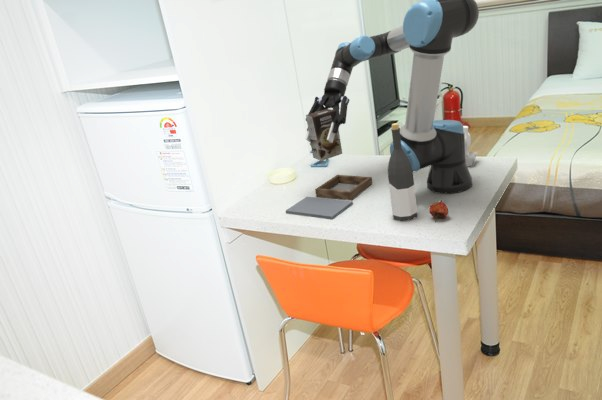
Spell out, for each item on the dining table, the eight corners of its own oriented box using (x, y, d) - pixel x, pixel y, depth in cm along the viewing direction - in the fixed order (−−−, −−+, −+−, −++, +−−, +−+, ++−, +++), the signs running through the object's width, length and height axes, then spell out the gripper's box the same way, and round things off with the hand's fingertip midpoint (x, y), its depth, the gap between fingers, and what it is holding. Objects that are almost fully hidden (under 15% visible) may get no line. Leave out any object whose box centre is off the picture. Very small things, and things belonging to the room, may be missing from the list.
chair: (333, 160, 229) (329, 134, 225) (326, 167, 222) (322, 140, 218) (317, 161, 233) (313, 135, 228) (310, 167, 226) (306, 141, 221)
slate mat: (353, 204, 178) (352, 201, 178) (332, 219, 169) (332, 216, 169) (307, 199, 191) (306, 196, 190) (286, 213, 181) (285, 210, 181)
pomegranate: (447, 227, 153) (455, 205, 156) (438, 218, 150) (446, 196, 152) (430, 225, 158) (439, 204, 160) (422, 216, 154) (430, 195, 157)
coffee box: (321, 161, 180) (313, 117, 173) (312, 158, 185) (304, 114, 179) (343, 153, 183) (336, 109, 177) (334, 150, 188) (326, 107, 182)
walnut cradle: (372, 184, 193) (371, 177, 192) (351, 200, 182) (350, 192, 181) (338, 181, 202) (337, 174, 201) (316, 196, 191) (315, 189, 190)
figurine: (478, 160, 197) (476, 122, 192) (473, 168, 190) (470, 129, 185) (459, 160, 201) (457, 123, 196) (453, 168, 194) (450, 130, 189)
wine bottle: (422, 216, 159) (413, 123, 148) (399, 223, 157) (388, 129, 147) (410, 208, 166) (401, 118, 156) (387, 215, 165) (376, 124, 154)
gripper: (367, 88, 180) (349, 146, 175) (318, 90, 194) (301, 144, 189) (356, 76, 175) (338, 136, 170) (307, 80, 188) (289, 135, 183)
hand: (318, 140), depth 179 cm, fingers closed on coffee box, 9 cm apart
